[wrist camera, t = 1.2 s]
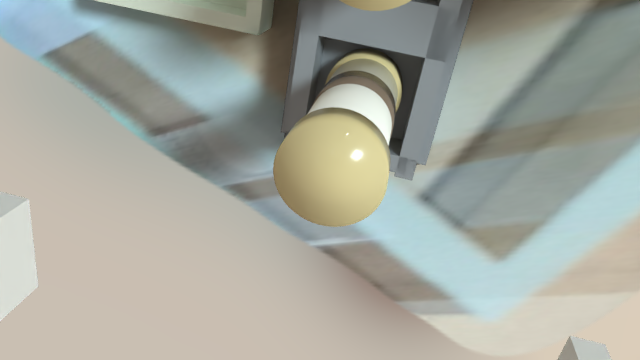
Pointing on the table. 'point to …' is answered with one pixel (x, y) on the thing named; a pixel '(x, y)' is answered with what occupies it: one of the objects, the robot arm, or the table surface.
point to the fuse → (375, 4)
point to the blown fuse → (342, 143)
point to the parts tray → (211, 12)
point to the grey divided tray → (395, 41)
